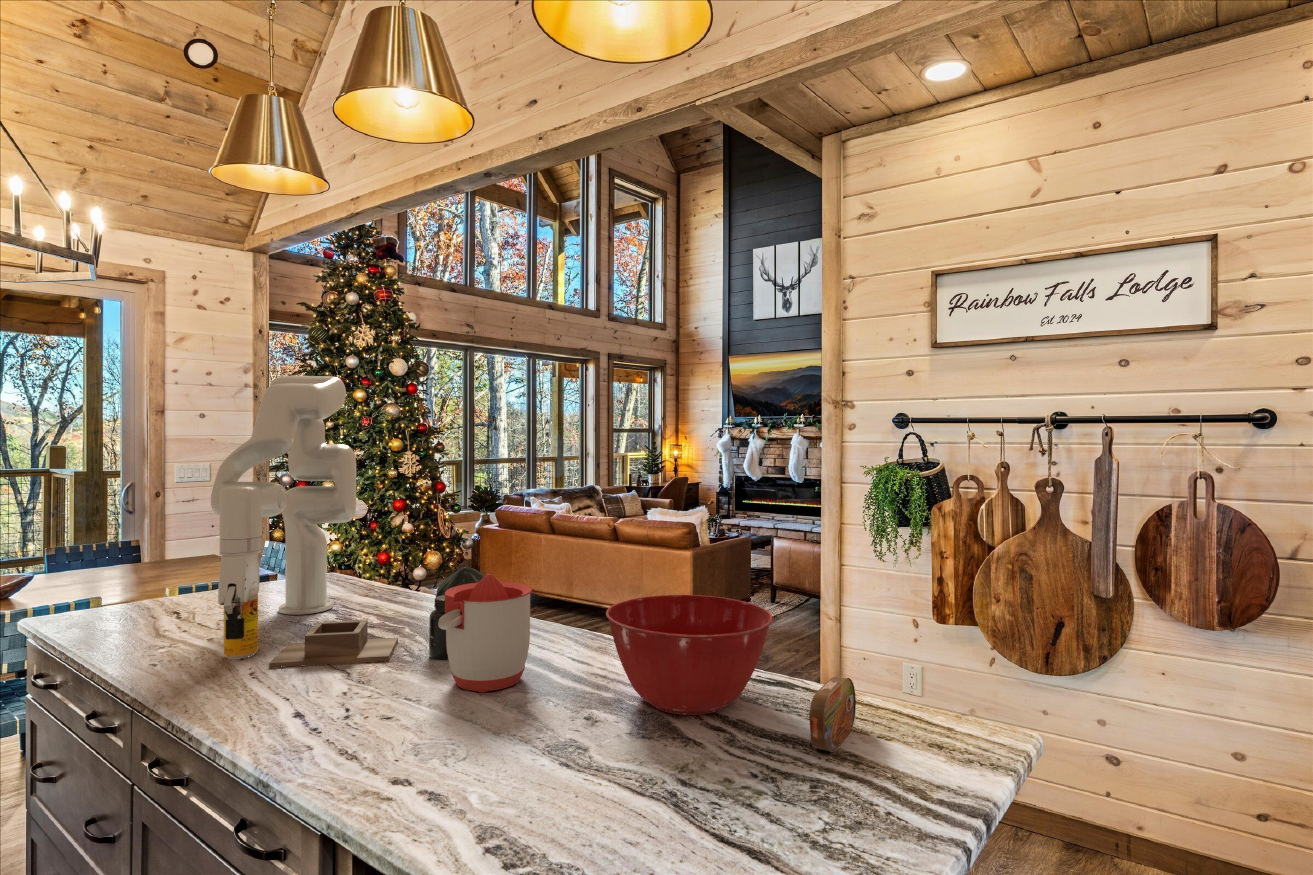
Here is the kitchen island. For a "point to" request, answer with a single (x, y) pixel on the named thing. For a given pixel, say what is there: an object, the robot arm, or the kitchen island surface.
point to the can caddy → (336, 646)
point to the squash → (460, 579)
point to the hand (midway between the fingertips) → (241, 632)
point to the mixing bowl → (688, 649)
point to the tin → (832, 713)
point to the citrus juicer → (487, 633)
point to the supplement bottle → (437, 631)
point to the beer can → (245, 629)
